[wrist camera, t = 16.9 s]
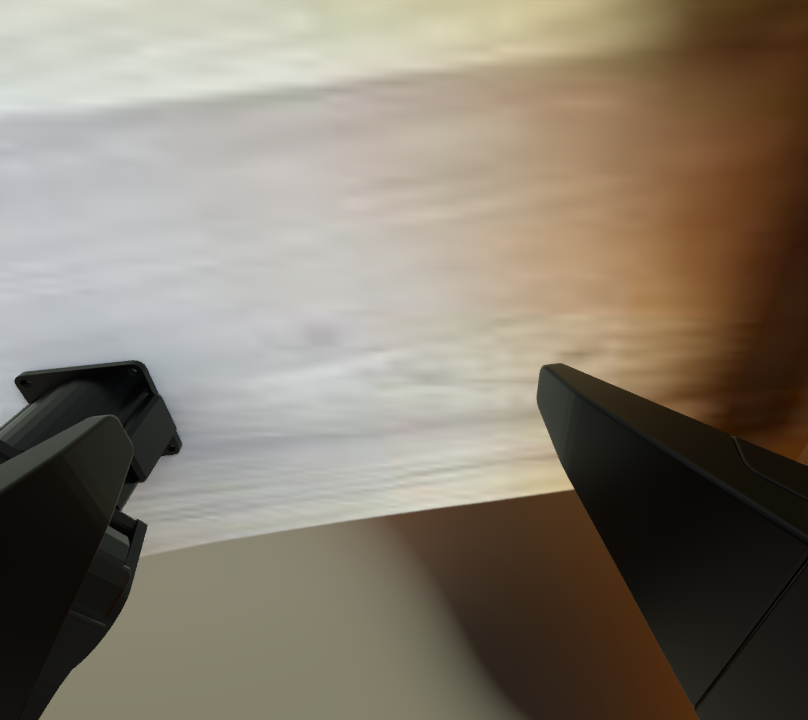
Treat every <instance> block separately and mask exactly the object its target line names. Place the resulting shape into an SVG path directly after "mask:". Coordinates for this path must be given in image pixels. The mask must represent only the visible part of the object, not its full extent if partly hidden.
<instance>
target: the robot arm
mask: <svg viewBox="0 0 808 720" xmlns="http://www.w3.org/2000/svg"><path fill="white" fill-rule="evenodd" d="M132 368H134V369H136V370H137V371H138V372H135V371H133V370H132ZM26 380H27V381H29V382H30V383H29V382H27V381H26ZM15 384H16V386H17V387H18V389H19V390H20V392H21V393H22V395H23V396H24V397H25V399H26V400H27V402H28V403H29V404H28V405H27V406H26V407H25V408H24V409H22V410H21V411H20V412H19V413H18V414H16V415H15V416H14V417H13V418H12V419H10V420H9V421H8V422H7V423H6V424H4V425H3V426H2V427H1V428H0V720H38V719H39V718H40V716H41V715H42V713H43V711H44V710H45V708H46V707H47V705H48V704H49V702H50V700H51V699H52V697H53V696H54V694H55V693H56V691H57V690H58V688H59V686H60V685H61V684H62V682H63V681H64V679H65V678H66V677H67V676H68V674H69V673H70V671H71V670H72V669H73V668H75V667H76V666H77V665H78V664H79V663H80V662H82V661H83V660H84V659H85V658H86V657H87V656H88V655H89V654H90V653H91V652H92V650H93V649H94V648H95V647H96V646H97V645H98V644H99V642H100V641H101V640H102V638H103V637H104V636H105V635H106V633H107V632H108V630H109V629H110V628H111V626H112V625H113V623H114V622H115V620H116V619H117V617H118V615H119V614H120V612H121V610H122V608H123V606H124V604H125V602H126V600H127V598H128V595H129V592H130V590H131V586H132V582H133V578H134V575H135V571H136V567H137V563H138V560H139V556H140V552H141V548H142V545H143V541H144V537H145V533H146V530H147V524H145V523H144V522H142V521H140V520H139V519H137V520H134V519H133V518H131V517H129V516H128V515H126V514H124V513H123V512H121V510H122V509H123V507H124V505H125V504H126V502H127V500H128V499H129V497H130V496H131V494H132V492H133V491H134V489H135V487H136V486H137V484H138V483H142V482H145V481H146V479H147V478H148V476H149V475H150V473H151V471H152V470H153V468H154V466H155V465H156V463H157V461H158V460H159V458H160V456H165V455H174V454H177V453H178V452H179V451H180V449H181V447H182V442H181V440H180V438H179V436H178V434H177V432H176V426H175V424H174V422H173V420H172V418H171V416H170V413H169V411H168V409H167V407H166V405H165V403H164V401H163V398H162V397H161V396H160V395H159V393H158V391H157V389H156V387H155V385H154V383H153V381H152V379H151V376H150V374H149V372H148V370H147V368H146V366H145V365H144V364H143V363H141V362H139V361H134V360H132V361H123V362H113V363H104V364H95V365H85V366H76V367H66V368H57V369H47V370H38V371H28V372H23V373H22V374H20V375H19V376H17V377H16V378H15ZM537 404H538V408H539V410H540V413H541V415H542V418H543V420H544V423H545V425H546V428H547V430H548V433H549V435H550V438H551V440H552V443H553V445H554V448H555V450H556V453H557V455H558V457H559V460H560V462H561V464H562V466H563V468H564V470H565V472H566V474H567V476H568V478H569V480H570V482H571V483H572V485H573V487H574V489H575V491H576V493H577V495H578V496H579V498H580V500H581V502H582V504H583V506H584V507H585V509H586V511H587V513H588V515H589V517H590V518H591V520H592V522H593V524H594V526H595V527H596V530H597V531H598V533H599V535H600V537H601V539H602V541H603V542H604V544H605V546H606V548H607V550H608V552H609V554H610V555H611V557H612V559H613V561H614V563H615V565H616V566H617V568H618V570H619V572H620V574H621V576H622V577H623V579H624V581H625V583H626V585H627V587H628V589H629V591H630V592H631V594H632V596H633V598H634V600H635V602H636V603H637V605H638V607H639V609H640V611H641V613H642V615H643V616H644V618H645V620H646V622H647V624H648V626H649V627H650V629H651V631H652V633H653V635H654V636H655V639H656V640H657V642H658V644H659V646H660V648H661V650H662V651H663V653H664V655H665V657H666V659H667V661H668V663H669V664H670V666H671V668H672V670H673V672H674V674H675V675H676V677H677V679H678V681H679V683H680V684H681V686H682V688H683V690H684V692H685V694H686V696H687V698H688V699H689V701H690V703H691V705H692V706H694V707H695V708H694V711H695V713H696V715H697V717H698V718H699V720H808V466H807V465H804V464H801V463H798V462H796V461H794V460H791V459H789V458H786V457H784V456H781V455H779V454H776V453H774V452H771V451H769V450H767V449H764V448H762V447H759V446H757V445H754V444H752V443H750V442H747V441H745V440H743V439H740V438H738V437H731V435H730V434H728V433H726V432H723V431H721V430H719V429H716V428H714V427H712V426H709V425H707V424H704V423H702V422H700V421H697V420H695V419H693V418H690V417H688V416H685V415H683V414H681V413H678V412H676V411H674V410H671V409H669V408H666V407H664V406H662V405H659V404H657V403H655V402H652V401H650V400H647V399H645V398H643V397H640V396H638V395H636V394H633V393H631V392H628V391H626V390H624V389H621V388H619V387H617V386H614V385H612V384H610V383H607V382H605V381H602V380H600V379H598V378H595V377H593V376H591V375H588V374H586V373H583V372H581V371H579V370H576V369H574V368H572V367H569V366H567V365H564V364H562V363H556V364H548V365H544V366H542V367H541V370H540V374H539V382H538V390H537ZM170 445H172V446H174V447H172V446H170Z"/></svg>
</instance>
